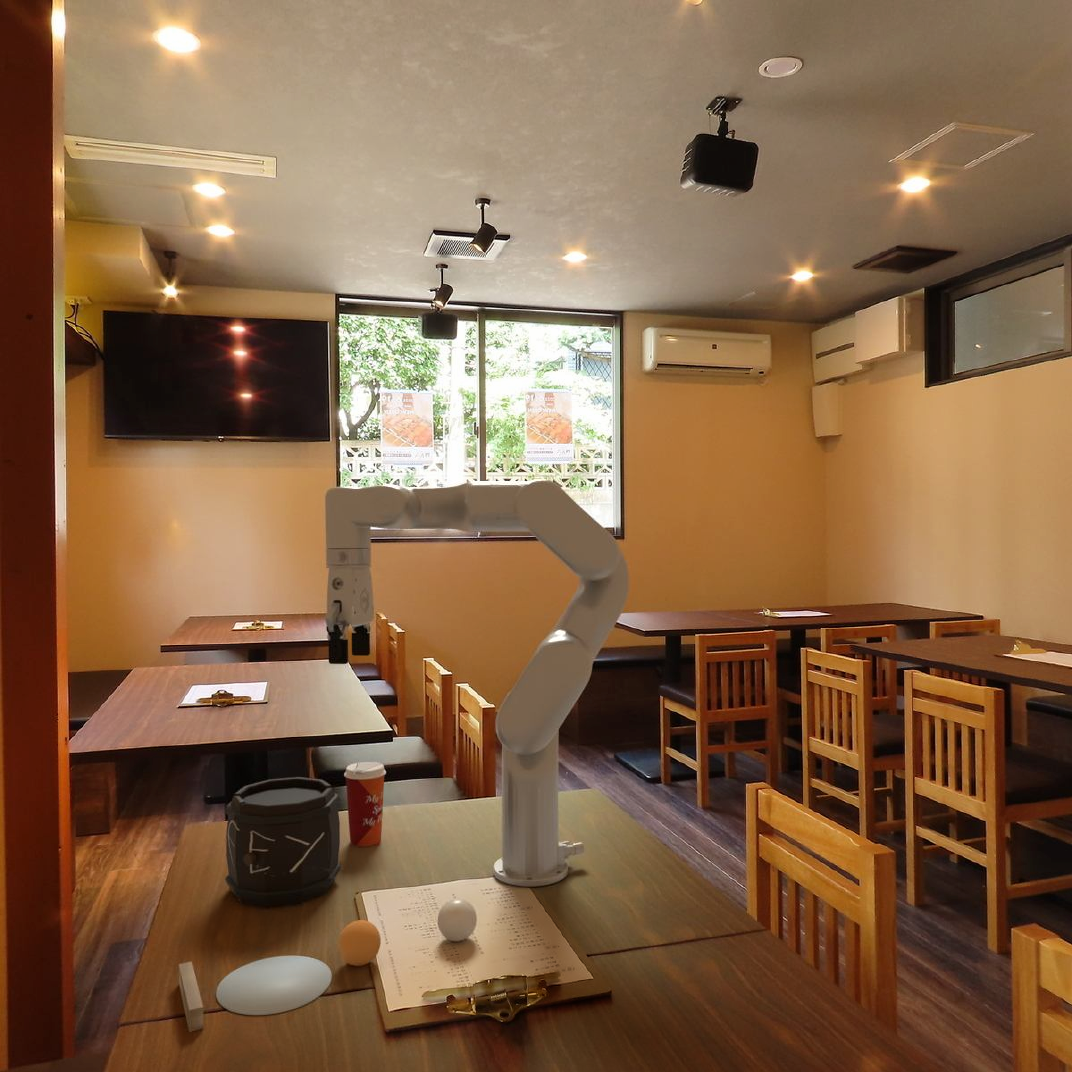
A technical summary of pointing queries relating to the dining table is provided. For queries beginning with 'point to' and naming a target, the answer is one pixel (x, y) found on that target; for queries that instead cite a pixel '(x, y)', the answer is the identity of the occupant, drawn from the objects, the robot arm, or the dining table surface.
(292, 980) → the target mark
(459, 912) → the cue ball
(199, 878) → the dining table surface
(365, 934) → the object ball
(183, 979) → the rail
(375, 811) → the paper cup
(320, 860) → the dark grey barrel
